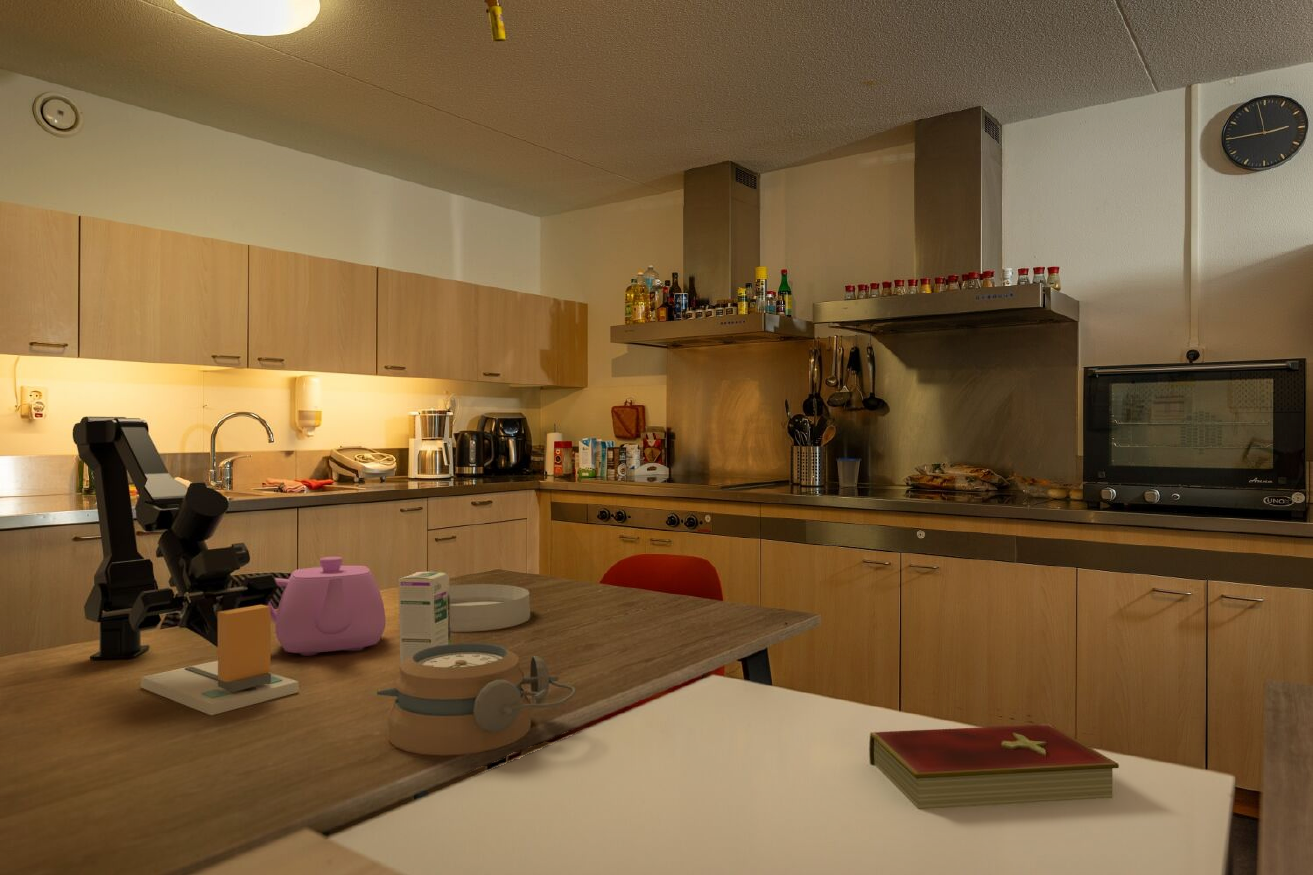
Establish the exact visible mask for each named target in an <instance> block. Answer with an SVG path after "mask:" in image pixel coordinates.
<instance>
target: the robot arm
mask: <svg viewBox="0 0 1313 875" xmlns="http://www.w3.org/2000/svg"><path fill="white" fill-rule="evenodd" d="M149 433H150V432H149V424H148V422H147V421H146V420H145V419H142V418H139V417H138V418H137V417H132V418H131V417H128V418H127V417H126V416H83V417H82V418H81V419H80V422H78V423H75V424H74V425H73V428H72V439H73V442H74V444H75V445H76V448H77V453H78V457H79V459H80V460H81V461H82V462H83V463H84V464H85V465H86V466H87V467H88V468H89V469H90V470H91V472H92V476H93V485H94V493H95V501H96V509H97V515H98V524H99V532H100V538H101V548H102V555H103V557H102V558H103V559H102V560H101V562H100V564H99V566H98V567H97V570H96V571H95V573H94V576H93V584H94V585H93V586H92V588H91V591H90V592H89V595H88V597H87V599H86V602H85V603H84V606H83V609H84V616H85V619H86V620H88V621H90V622H94V623H99V625H98V626H99V627H98V628H99V631H98V632H99V634H98V635H99V636H98V637H99V638H98V639H99V648H98V649H99V651H97V652H95V653H94V654H91V655H90V656H89V660H105V659H106V660H107V659H108V660H109V659H111V660H115V659H131V658H135V657H136V656H138V655H141V654H143V653H144V652H146V651H147V650H149V649H150V647H151V646H150V645H149V644H148V645H145V644H144V645H142V634H141V633H142V631H147V630H153V629H156V628H157V627H158V626H159V624H160V623H161V621H162V618H161V616H160V615H168V614H175V613H178V615H179V617H180V620H179V622H178V624H177V626H178V628H180V629H187V630H189V631H191V632H193V633H195V634H196V635H198V636H199V637H202V638H203V639H204V640H206V641H208V643H211V644H212V645H213V646H215V647H216V648H217V649H218V612H220V611H226V610H232V609H238V608H244V607H250V606H256V605H265V606H267V604H268V603H269V601H270V602H271V600H272V598H273V596H274V594H275V593H276V591H277V590H278V588H279V587H280V586H278V584H277V582H276V580H275V578H276V577H274V576H273V574H268V573H267V574H257V575H251V576H245V578H244V579H243V581H242V582H241V584H240V586H238V587H229V588H226V585H228V584H230V583H231V581H232V580H233V577H232V575H231V574H232V573H234V572H235V571H239V570H240V569H241V568H242V567H245V566H246V565H247V564H249V563H250V562H251V557H250V552H249V550H248V547H247V545H246V544H245V542H237V543H232V544H231V546H226V547H221V548H220V547H218V548H217V547H216V548H210V549H209V546H208V545H207V543H206V541H207V540H209V539H211V538H212V537H213V536H214V534H215V532H216V531H217V529H218V528H219V525H220V523H221V521H222V520H223V518H224V516H225V515H226V512H227V511H228V509H229V501H228V498H227V497H226V496H225V495H223V494H222V493H221V492H219V491H218V490H216V489H214V488H210V487H208V486H207V484H206V482H190V484H189V485H188V487H187V485H186V484H184V483H183V482H181V481H179V480H177V479H175V478H173V477H172V476H171V474H170V472H169V471H168V468H167V467H166V465H165V462H164V461H163V459H162V457H161V455H160V453H159V451H158V449H157V447H156V445H155V443H154V441H153V439H152V438H151V435H150V434H149ZM128 475H129V476H128ZM129 477H130V479H131V481H132V483H133V485H134V487H135V490H136V492H137V495H138V498H137V501H136V504H135V506H134V510H135V518H136V520H137V523H138V524H139V525H140V526H141V528H142V530H143V531H145V532H146V533H147V532H148V533H155V532H156V533H157V532H163V533H161V535H160V537H159V539H158V541H157V545H158V546H157V547H156V550H155V557H156V558H163V559H164V561H165V564H166V566H167V569H168V571H169V574H170V577H169V580H168V584H169V586H170V588H169V587H166V588H160V589H159V585H158V582H157V579H156V578H155V573H154V563H153V562H152V560H151V559H150V558H144V556H142V554H141V553H140V552H139V549H138V545H137V544H138V543H137V537H136V529H135V528H136V527H135V522H134V513H133V507H132V506H133V505H132V499H131V491H130V482H129ZM173 587H174V588H176V591H177V592H178V596H176V595H175V592H174V589H172V588H173ZM175 596H176V597H175Z"/></svg>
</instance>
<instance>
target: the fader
mask: <svg viewBox="0 0 1313 875" xmlns="http://www.w3.org/2000/svg"><path fill="white" fill-rule="evenodd" d="M217 661H218V687H221V688H224V689H227V690H230V691H232V692H234V691H238V690H242V689H246V688H250V687H254V686H258V685H262V684H267V683H271V674H270V673H272V672H271V671H272V670H271V618H270V606H265V605H256V606H250V607H244V608H238V609H237V608H236V609H232V610H226V611H220V612H218V648H217ZM268 672H270V673H268Z"/></svg>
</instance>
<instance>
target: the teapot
mask: <svg viewBox="0 0 1313 875" xmlns="http://www.w3.org/2000/svg"><path fill="white" fill-rule="evenodd" d="M343 560H344V558H343V557H341V556H325V557H321V558H320V559H319V563H320V566H315V567H307V568H306V567H305V568H298V569H295V570H294V571H293V572H291V574H290V576H289V578H278V577H274V578H275V580H276V582H277V584H278V586H279V587H284V590H283V592H282V595H281V598H280V600H279V604H278V607H277V611H276V609H275V608H274V606H273V605H272V603H271V600H270V601H269V603H268V604H267V606H270V620H272V621H273V623H275V629H274V630H275V635H276V638H277V640H278V642H279V644H280V646H281V647H282V649H283V650H284V652H287V653H291V654H293V653H294V654H300V656H314V655H318V654H320V653H325V652H327V653H328V652H337V651H347V652H357V651H362V650H364V648H367V647H371V646H374V645H376V644H378V643H379V641H380V639H381V638H382V636H383V634H384V631H385V629H386V626H387V625H386V621H387V620H386V613H385V612H386V611H385V605H384V601H383V598H382V594H381V591H380V589H379V586H378V584H377V581H376V579H375V577H374V575H373V573H372V571H371V570H370V568H369V567H368V566H366V565H342V564H343Z"/></svg>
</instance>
